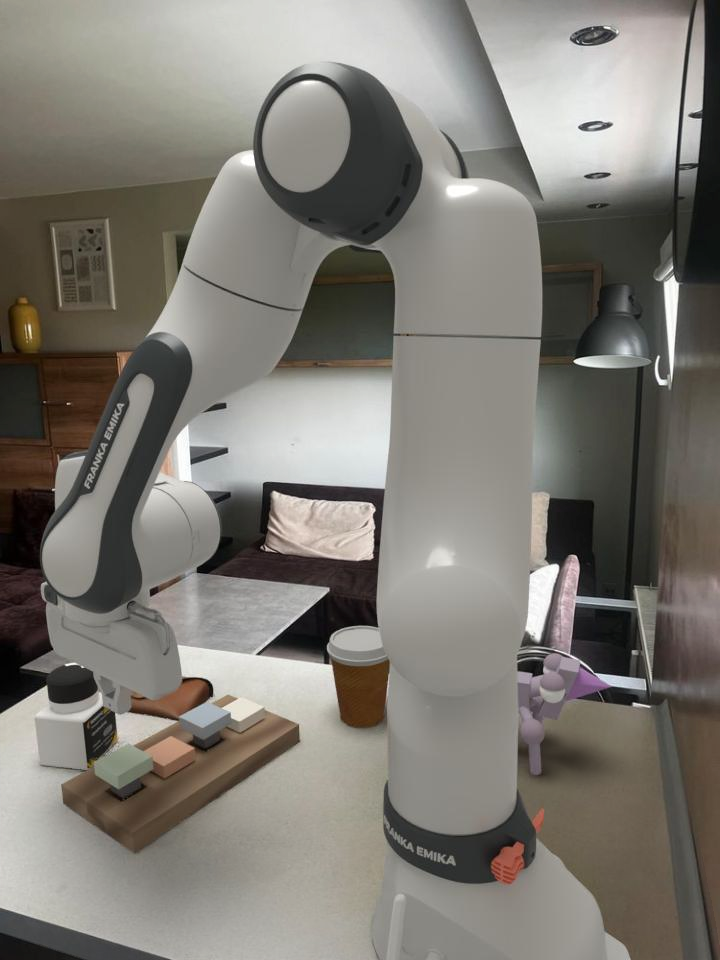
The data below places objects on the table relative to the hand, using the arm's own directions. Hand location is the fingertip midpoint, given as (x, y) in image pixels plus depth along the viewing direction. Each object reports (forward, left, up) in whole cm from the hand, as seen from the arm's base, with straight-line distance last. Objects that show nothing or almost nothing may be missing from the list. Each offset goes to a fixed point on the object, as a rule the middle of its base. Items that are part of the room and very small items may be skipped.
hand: (117, 709), depth 79 cm
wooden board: (0, -9, -13) cm, 15 cm away
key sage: (0, 0, -10) cm, 10 cm away
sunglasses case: (+19, -17, -13) cm, 28 cm away
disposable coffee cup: (-10, -32, -13) cm, 36 cm away
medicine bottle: (+15, -3, -13) cm, 20 cm away
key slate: (0, -12, -10) cm, 16 cm away
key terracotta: (0, -6, -12) cm, 13 cm away
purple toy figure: (-33, -37, -13) cm, 51 cm away
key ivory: (0, -18, -12) cm, 22 cm away
